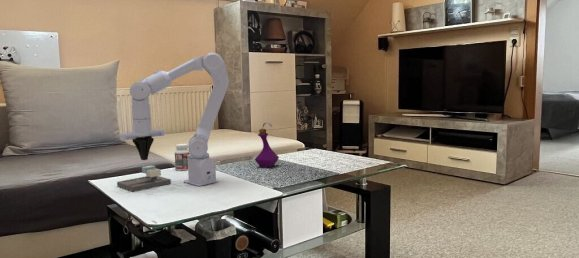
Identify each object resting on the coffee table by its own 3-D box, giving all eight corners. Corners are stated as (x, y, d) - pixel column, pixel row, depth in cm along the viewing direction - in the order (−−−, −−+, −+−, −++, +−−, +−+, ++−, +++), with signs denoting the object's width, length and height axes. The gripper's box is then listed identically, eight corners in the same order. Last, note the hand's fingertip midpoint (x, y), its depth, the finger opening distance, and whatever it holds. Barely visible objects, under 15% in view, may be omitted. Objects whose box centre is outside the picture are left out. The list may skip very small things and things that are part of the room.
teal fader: (155, 175, 147) (155, 166, 146) (146, 177, 144) (145, 167, 144) (151, 174, 149) (151, 165, 148) (142, 176, 146) (141, 166, 146)
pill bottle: (186, 171, 162) (185, 145, 161) (172, 170, 163) (171, 145, 162) (192, 168, 168) (191, 143, 167) (179, 167, 169) (178, 143, 168)
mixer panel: (170, 183, 142) (170, 179, 142) (132, 191, 132) (132, 186, 132) (154, 178, 150) (154, 174, 149) (117, 186, 140) (117, 181, 140)
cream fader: (161, 178, 141) (160, 169, 141) (151, 180, 139) (150, 171, 138) (156, 177, 143) (156, 168, 143) (147, 179, 140) (146, 169, 140)
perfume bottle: (254, 167, 166) (253, 122, 164) (262, 164, 173) (261, 120, 171) (271, 168, 164) (270, 123, 162) (279, 165, 170) (278, 121, 168)
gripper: (155, 116, 145) (157, 155, 147) (114, 120, 135) (117, 161, 136) (166, 117, 141) (168, 157, 142) (124, 121, 130) (127, 164, 132)
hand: (144, 159), depth 139 cm, fingers closed
